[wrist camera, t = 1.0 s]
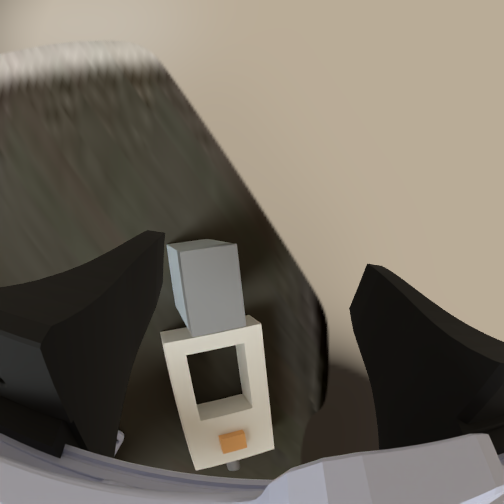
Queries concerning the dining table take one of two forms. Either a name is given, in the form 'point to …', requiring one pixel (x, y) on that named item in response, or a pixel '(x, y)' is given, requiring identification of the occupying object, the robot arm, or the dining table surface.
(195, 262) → the plug
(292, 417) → the dining table surface
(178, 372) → the white rectangular frame
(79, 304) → the robot arm
